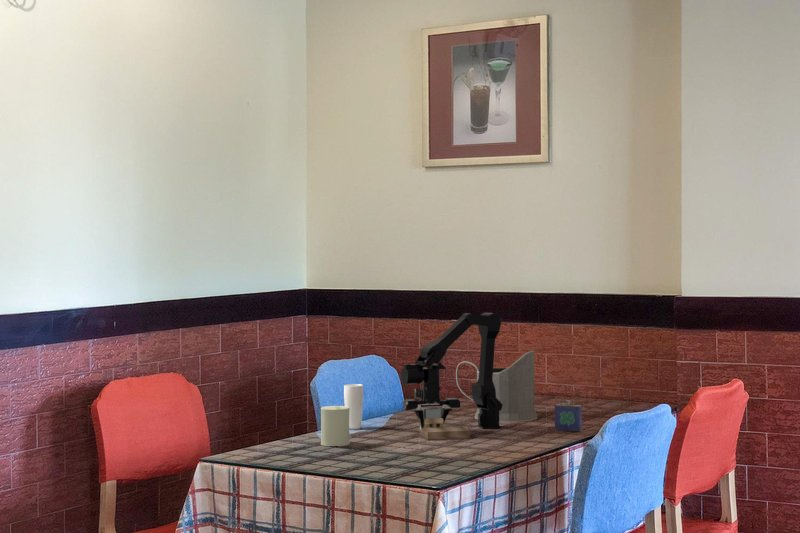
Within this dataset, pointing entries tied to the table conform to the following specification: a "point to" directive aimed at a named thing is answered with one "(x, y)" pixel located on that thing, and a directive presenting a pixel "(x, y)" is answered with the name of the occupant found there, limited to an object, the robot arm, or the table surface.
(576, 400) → the table surface
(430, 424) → the block
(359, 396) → the drinking glass
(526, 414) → the pitcher
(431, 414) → the block
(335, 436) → the can
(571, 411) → the flask
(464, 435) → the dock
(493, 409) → the robot arm
